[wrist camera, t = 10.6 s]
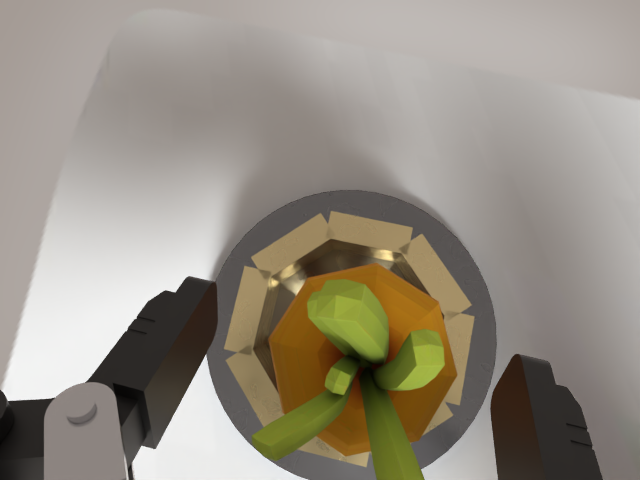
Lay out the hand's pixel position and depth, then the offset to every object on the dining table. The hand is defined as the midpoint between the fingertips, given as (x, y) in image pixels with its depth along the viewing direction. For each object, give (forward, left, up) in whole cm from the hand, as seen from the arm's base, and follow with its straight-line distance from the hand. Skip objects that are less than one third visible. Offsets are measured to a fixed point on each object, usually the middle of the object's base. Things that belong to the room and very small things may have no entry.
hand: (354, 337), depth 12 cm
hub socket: (0, 0, -11) cm, 11 cm away
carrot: (0, 0, -10) cm, 10 cm away
